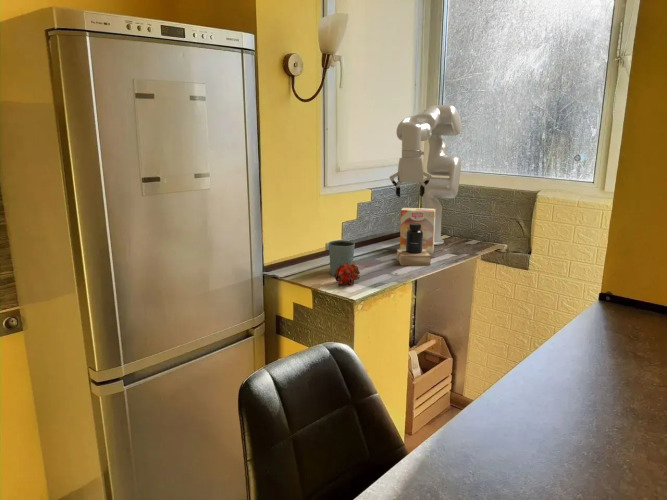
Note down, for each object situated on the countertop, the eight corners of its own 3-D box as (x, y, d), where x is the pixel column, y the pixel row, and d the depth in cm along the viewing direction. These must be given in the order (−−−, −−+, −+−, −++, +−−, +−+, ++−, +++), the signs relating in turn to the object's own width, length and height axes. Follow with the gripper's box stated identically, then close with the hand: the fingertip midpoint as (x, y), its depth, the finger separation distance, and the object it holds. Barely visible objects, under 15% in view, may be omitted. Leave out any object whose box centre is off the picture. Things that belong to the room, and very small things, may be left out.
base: (396, 258, 226) (397, 248, 225) (424, 257, 226) (424, 248, 225) (401, 265, 214) (401, 255, 213) (430, 265, 215) (430, 255, 214)
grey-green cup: (325, 270, 208) (325, 241, 205) (348, 268, 211) (348, 239, 208) (334, 277, 198) (334, 246, 195) (358, 274, 202) (358, 244, 199)
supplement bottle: (411, 254, 215) (412, 226, 212) (402, 251, 221) (403, 223, 218) (425, 252, 218) (426, 224, 215) (416, 249, 224) (417, 221, 221)
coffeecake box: (399, 252, 236) (400, 209, 232) (401, 248, 243) (402, 207, 238) (433, 254, 233) (434, 210, 228) (433, 250, 240) (435, 208, 235)
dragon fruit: (359, 284, 195) (339, 296, 187) (343, 268, 198) (323, 280, 189) (368, 269, 190) (348, 281, 181) (352, 253, 192) (332, 265, 184)
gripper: (429, 153, 216) (428, 194, 221) (388, 154, 215) (388, 195, 220) (434, 155, 209) (432, 197, 214) (391, 155, 208) (391, 198, 213)
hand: (410, 196), depth 217 cm, fingers open, 9 cm apart
